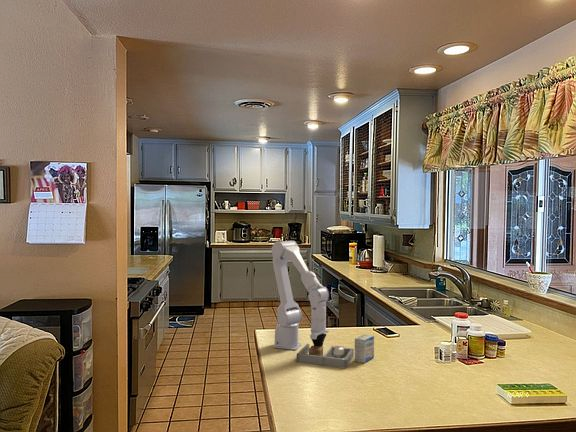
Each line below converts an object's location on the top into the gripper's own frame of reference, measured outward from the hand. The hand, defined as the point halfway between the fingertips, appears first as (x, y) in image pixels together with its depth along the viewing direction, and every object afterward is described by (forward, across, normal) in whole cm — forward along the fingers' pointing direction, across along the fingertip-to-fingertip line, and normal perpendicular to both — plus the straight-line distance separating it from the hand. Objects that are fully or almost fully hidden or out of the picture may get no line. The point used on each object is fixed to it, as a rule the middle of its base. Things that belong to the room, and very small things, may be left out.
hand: (318, 352), depth 179 cm
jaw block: (+1, -4, 0) cm, 4 cm away
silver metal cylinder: (+1, -4, -9) cm, 10 cm away
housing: (+1, -4, -4) cm, 5 cm away
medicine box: (+1, +1, -18) cm, 18 cm away
